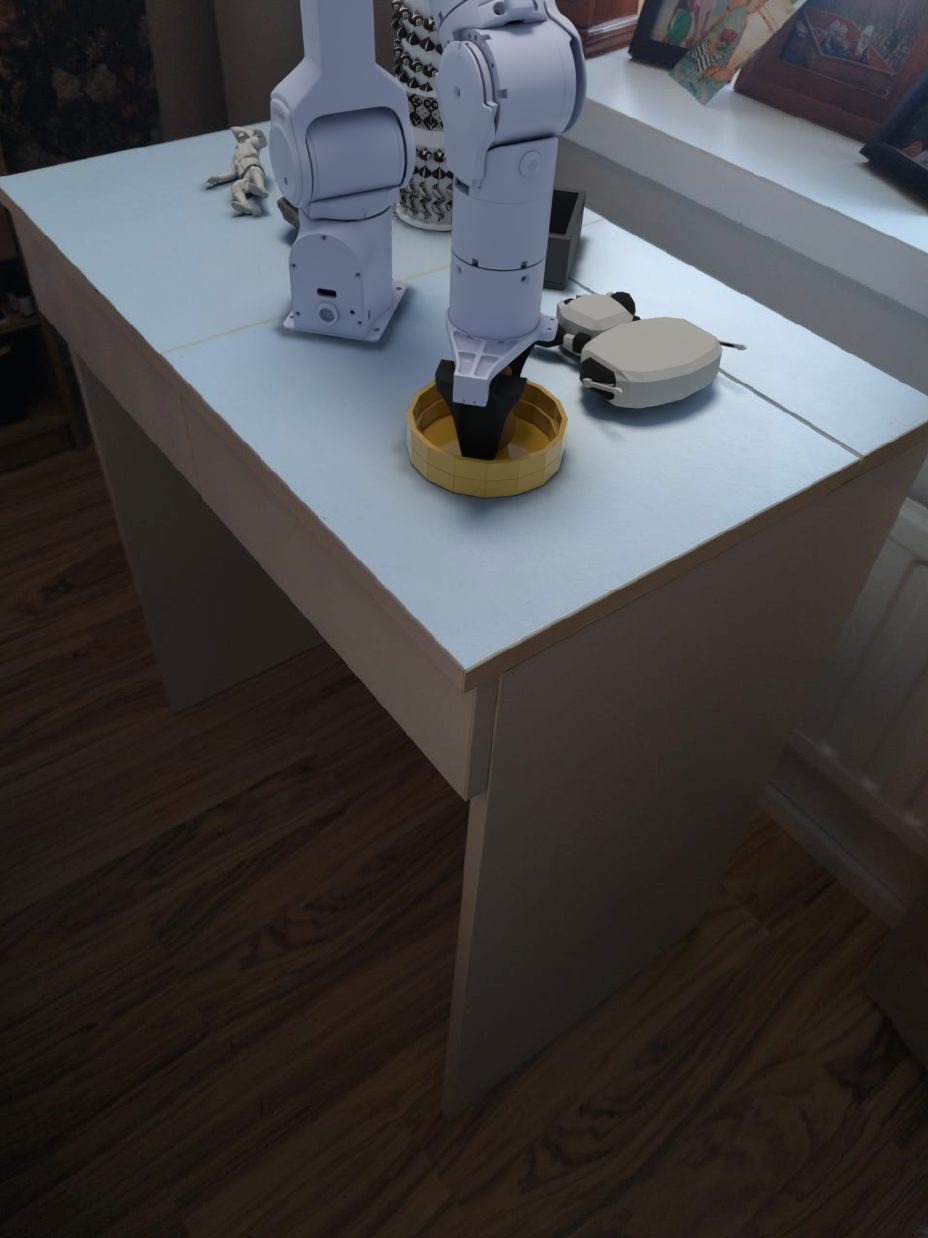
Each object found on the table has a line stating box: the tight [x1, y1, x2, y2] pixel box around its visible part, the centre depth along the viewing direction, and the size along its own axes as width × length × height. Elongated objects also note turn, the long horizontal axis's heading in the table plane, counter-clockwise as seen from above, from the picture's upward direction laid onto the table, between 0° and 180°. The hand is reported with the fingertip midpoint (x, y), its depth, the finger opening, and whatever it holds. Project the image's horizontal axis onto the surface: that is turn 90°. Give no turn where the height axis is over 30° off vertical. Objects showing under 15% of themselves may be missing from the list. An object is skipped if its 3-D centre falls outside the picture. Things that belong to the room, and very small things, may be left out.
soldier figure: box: [204, 126, 269, 215], centre depth 98 cm, size 8×5×12 cm
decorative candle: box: [390, 0, 454, 232], centre depth 89 cm, size 9×9×25 cm
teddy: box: [497, 365, 516, 452], centre depth 68 cm, size 4×4×7 cm
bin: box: [543, 186, 587, 291], centre depth 90 cm, size 10×9×5 cm
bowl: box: [406, 379, 569, 499], centre depth 70 cm, size 11×11×3 cm
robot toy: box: [535, 290, 748, 409], centre depth 78 cm, size 12×4×15 cm
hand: (485, 436), depth 70 cm, fingers open, 5 cm apart
